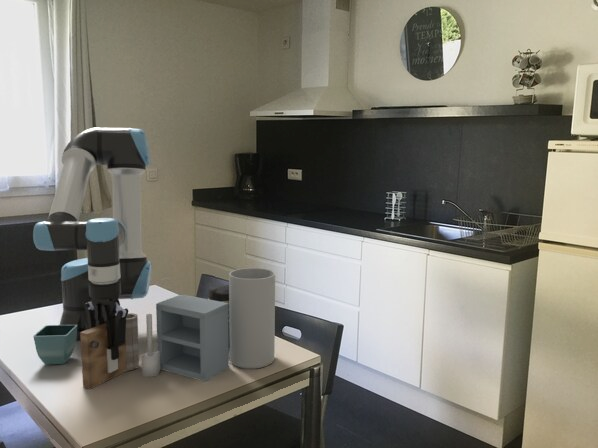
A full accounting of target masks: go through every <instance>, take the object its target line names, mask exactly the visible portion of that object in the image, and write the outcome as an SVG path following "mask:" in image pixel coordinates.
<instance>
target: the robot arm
mask: <svg viewBox="0 0 598 448" xmlns="http://www.w3.org/2000/svg"><path fill="white" fill-rule="evenodd" d="M149 147H150V145H149V142H148V137H147V134H146V132H145V131H144V129H142V128H134V127H133V128H131V127H91V128H88V129H85V130H83V131H81V132H80V133H78V134H76V135H75V136H74V137H73V138H72V139H71V140H70V141H69V142H68V143H67V145H66V146H65V148H64V150H63V152H62V155H61V163H62V164H63V165H62V169H61V172H60V176H59V179H58V181H57V182H58V183H57V185H56V190H55V194H54V197H53V198H52V199H53V200H52V204H51V207H50V210H49V214H48V218H47V221H46V220H43V221H38V222H37V223H35V225H34V227H33V232H32V238H33V244H34V246H35V248H36V249H38V250H40V251H48V252H49V251H50V252H51V251H52V252H54V251H86V255H87V257H85V258H79V259H75V260H71V261H69V262H67V263H65V264H64V265H62V267H61V270H60V271H61V274H60V275H61V276H60V281H61V293H62V297H61V299H62V313H61V317H60V321H59V322H60V323H59V325H77V338H76V341H81V337H80V332H83V331H85V330H88V329H91V328H93V327H96V326H98V325H101V324H104V323H106V327H107V334H108V342H109V346H108V347H107V367H108V373H111V372H113V371H115V370H117V369H118V358H119V346H121V345H123V344H125V332H126V317H127V314H129V309H128V308H127V307H126V308H124V307H122V306H121V302H120V300H134V299H135V300H136V299H143V298H145V297H147V295H148V294H149V290H150V285H151V279H152V267H153V266H152V262H151V261H150V260H148V261H147V259H148V258H147V255H146V254H145V253H144V252H143V249H142V246H143V245H142V244H143V243H142V242H143V241H142V189H141V188H142V185H141V184H142V180H141V179H142V178H141V177H142V176H143V174H144V173H146V171H147V170H146V166H147V167H148V166H150V165H151V153H150V148H149ZM97 165H98V166H99V165H100V166H101V165H102V166H107V167H106V169H107V170H106V171H107V172H108V173H110V175H111V177H112V218H111V217H100V218H99V217H96V218H92V219H89V220H87V221H80V218H81V217H80V216H81V212H82V208H83V203H84V199H85V195H86V191H87V186H88V182H89V179H90V174H91V172H93V170H94V169H95V168H96V166H97Z"/></svg>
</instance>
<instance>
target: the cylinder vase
mask: <svg viewBox="0 0 598 448" xmlns="http://www.w3.org/2000/svg"><path fill="white" fill-rule="evenodd" d="M228 274H229V275H228V276H229V277H228V282H229V283H228V285H229V340H230V348H229V361H230V363H231V364H232V365H234V366H235V367H238V368H242V369H248V370H249V369H251V370H254V369H260V368H265V367H268V366H269V365H270V364H272V363H273V362H274V361H275V342H276V340H275V338H276V337H275V334H276V332H275V331H276V330H275V329H276V327H275V325H276V272H275V271H274V270H271V269H267V268H262V267H261V268H259V267H248V268H247V267H244V268H238V269H237V268H236V269H234V270H232V271H230V272H229V273H228Z"/></svg>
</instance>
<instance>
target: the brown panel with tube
mask: <svg viewBox="0 0 598 448" xmlns="http://www.w3.org/2000/svg"><path fill="white" fill-rule="evenodd" d="M138 317H139V315H138V313H137V314H136V313H133V312H131V313H130V312H128V314H127V317H126V332H125V344H123V345H121V346H119V358H118V369H117V370H115V371H113V372H111V373H108V367H107V347H108V346H109V342H108V334H107V327H106V323H104V324H101V325H98V326H96V327H93V328H91V329H88V330H85V331H83V332H80V337H81V340H80V353H81V369H82V370H81V373H82V387H83V388H87V389H89V390H90V389H92V388H94V387H96V386H98V385H100V384H103V383H105V382H106V381H108V380H111V379H112V378H114V377H116V376H119V375H121V374H122V373H125V372H126V371H132V370H136V369H137V368H140V357H139V356H140V351H139V349H140V348H139V346H140V345H139V323H138V322H139V319H138Z"/></svg>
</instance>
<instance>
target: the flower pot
mask: <svg viewBox="0 0 598 448" xmlns="http://www.w3.org/2000/svg"><path fill="white" fill-rule="evenodd" d="M76 338H77V325H60V324H57V325H56V324H52V325H51V324H50V325H48V324H47V325H45V326H43V327H42V328H41V329H39V331H37V332H36V333H35V334H33V341H34V345H35V349H36V354H37V356H38V358H39V359H40V360H41V362H42V363H43V364H45V365H64V364H65V363H67V362H68V360H69V359H70V358H71V357H72V354H73V353H74V349H75V347H76V343H77V340H76Z"/></svg>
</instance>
